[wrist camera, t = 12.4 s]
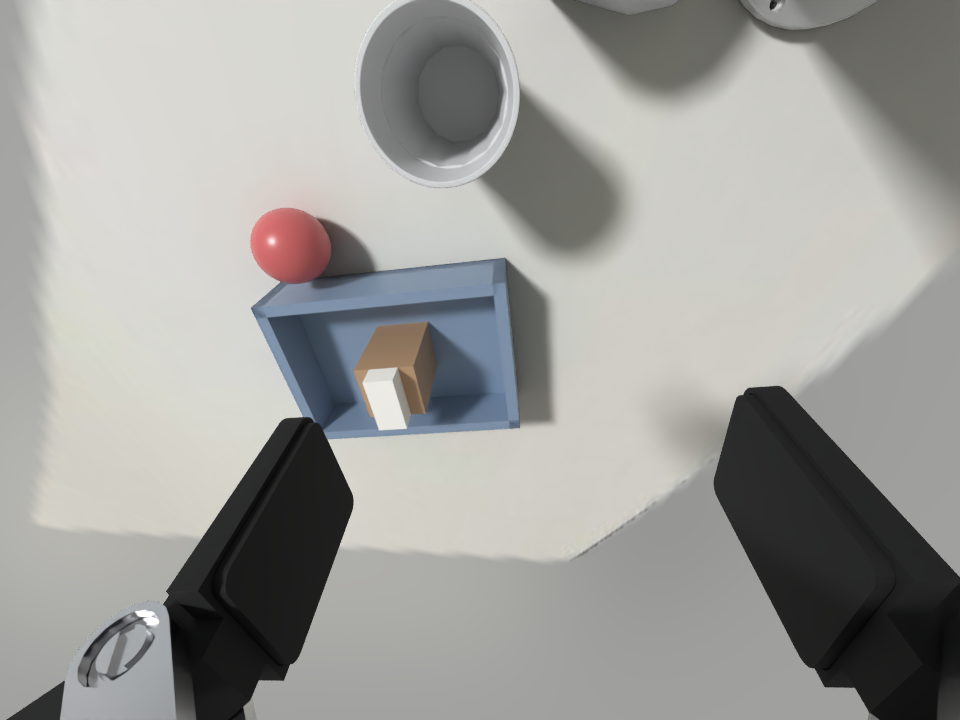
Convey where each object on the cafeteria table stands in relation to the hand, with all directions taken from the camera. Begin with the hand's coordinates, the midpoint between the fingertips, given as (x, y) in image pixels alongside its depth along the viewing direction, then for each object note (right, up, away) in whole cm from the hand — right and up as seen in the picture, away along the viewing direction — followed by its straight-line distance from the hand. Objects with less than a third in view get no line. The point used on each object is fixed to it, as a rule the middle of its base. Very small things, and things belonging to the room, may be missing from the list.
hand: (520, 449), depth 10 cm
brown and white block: (-8, +3, +31) cm, 32 cm away
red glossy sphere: (-16, +13, +26) cm, 34 cm away
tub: (-8, +4, +32) cm, 33 cm away
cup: (-2, +21, +20) cm, 30 cm away
